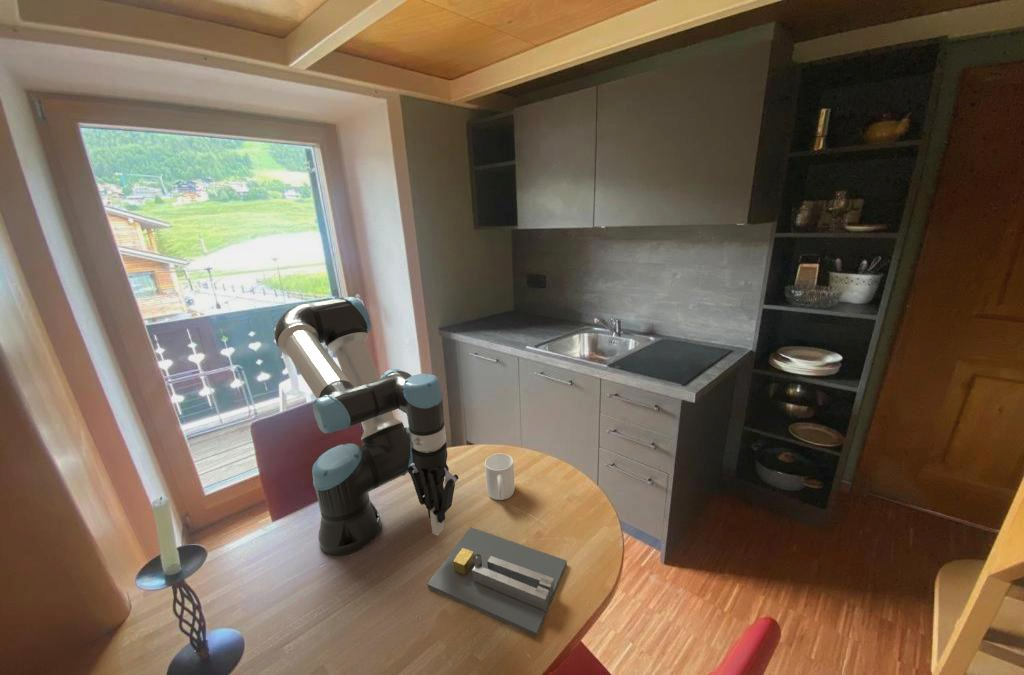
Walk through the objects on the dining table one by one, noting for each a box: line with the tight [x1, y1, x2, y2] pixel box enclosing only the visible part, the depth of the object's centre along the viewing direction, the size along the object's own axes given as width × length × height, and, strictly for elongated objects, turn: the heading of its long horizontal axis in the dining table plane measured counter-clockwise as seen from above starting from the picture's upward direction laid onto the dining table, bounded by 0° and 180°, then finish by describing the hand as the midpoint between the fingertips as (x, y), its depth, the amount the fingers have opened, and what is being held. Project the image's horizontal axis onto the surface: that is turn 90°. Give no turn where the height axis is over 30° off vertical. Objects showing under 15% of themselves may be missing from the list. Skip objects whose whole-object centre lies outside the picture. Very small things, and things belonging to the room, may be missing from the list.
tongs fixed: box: [472, 554, 549, 611], centre depth 83 cm, size 18×3×4 cm, turn 64°
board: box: [426, 526, 568, 638], centre depth 88 cm, size 26×18×1 cm
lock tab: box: [453, 548, 474, 575], centre depth 89 cm, size 3×4×3 cm
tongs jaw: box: [487, 556, 554, 598], centre depth 84 cm, size 15×2×3 cm, turn 65°
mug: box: [484, 452, 516, 501], centre depth 112 cm, size 12×8×10 cm
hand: (438, 530), depth 92 cm, fingers closed
